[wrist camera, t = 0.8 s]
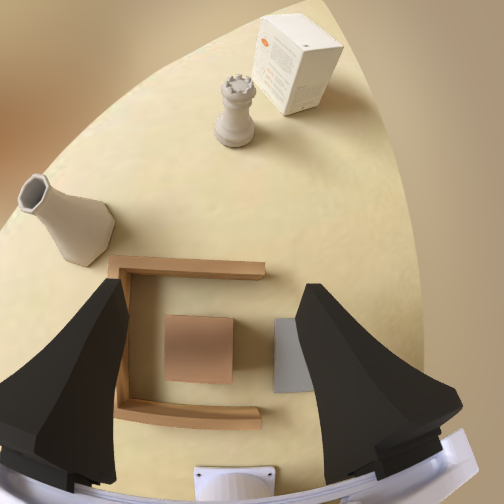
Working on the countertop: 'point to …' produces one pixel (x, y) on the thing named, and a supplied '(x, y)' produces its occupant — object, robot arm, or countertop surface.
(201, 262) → the oak bracket
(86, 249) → the flask
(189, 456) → the countertop surface
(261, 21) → the small box
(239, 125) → the rook chess piece
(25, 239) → the countertop surface
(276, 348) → the slate coaster
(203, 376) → the walnut block
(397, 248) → the countertop surface
